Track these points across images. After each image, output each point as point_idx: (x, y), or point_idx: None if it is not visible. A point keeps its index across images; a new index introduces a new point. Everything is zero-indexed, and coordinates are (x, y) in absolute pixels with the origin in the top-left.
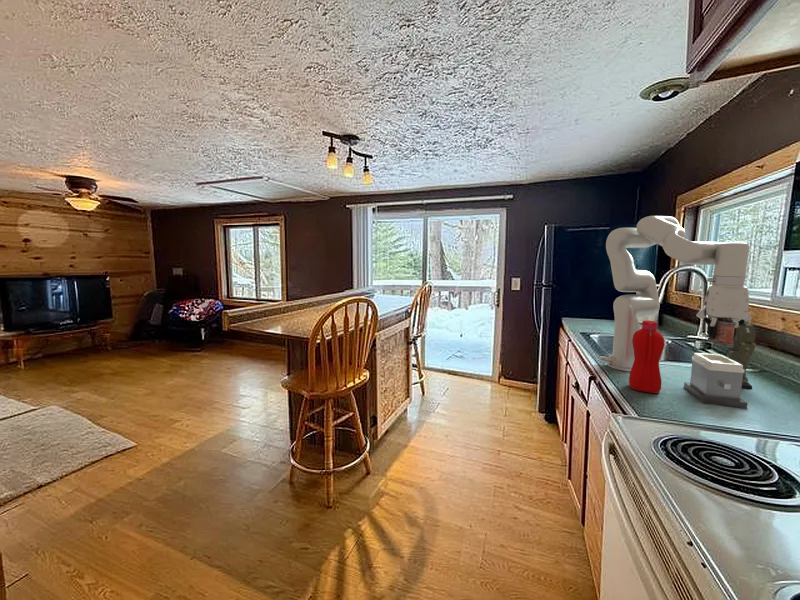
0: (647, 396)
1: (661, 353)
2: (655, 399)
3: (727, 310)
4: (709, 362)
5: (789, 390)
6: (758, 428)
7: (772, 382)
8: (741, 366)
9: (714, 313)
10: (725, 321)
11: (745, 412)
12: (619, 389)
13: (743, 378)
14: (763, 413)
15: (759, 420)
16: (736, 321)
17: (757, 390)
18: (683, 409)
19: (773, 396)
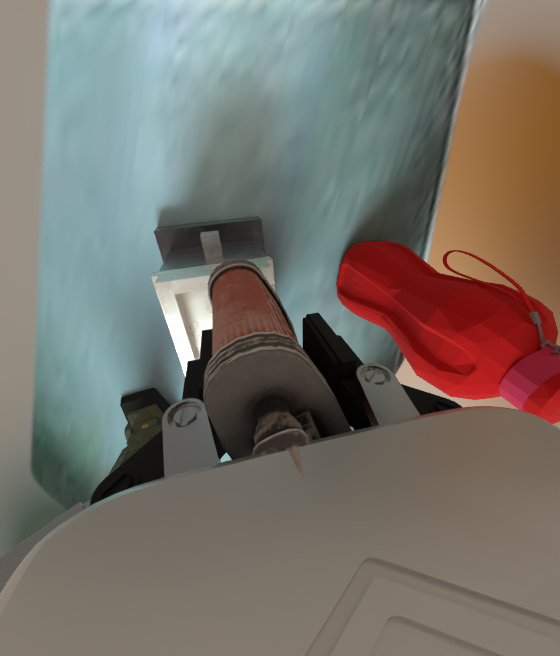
0: (378, 214)
1: (417, 296)
2: (368, 196)
3: (411, 596)
4: (271, 285)
5: (40, 431)
6: (155, 14)
7: (73, 465)
8: (161, 280)
9: (524, 448)
10: (298, 419)
11: (166, 188)
12: (422, 241)
13: (134, 426)
14: (119, 204)
15: (139, 120)
16: (185, 459)
17: (111, 395)
18: (326, 132)
19: (79, 369)
